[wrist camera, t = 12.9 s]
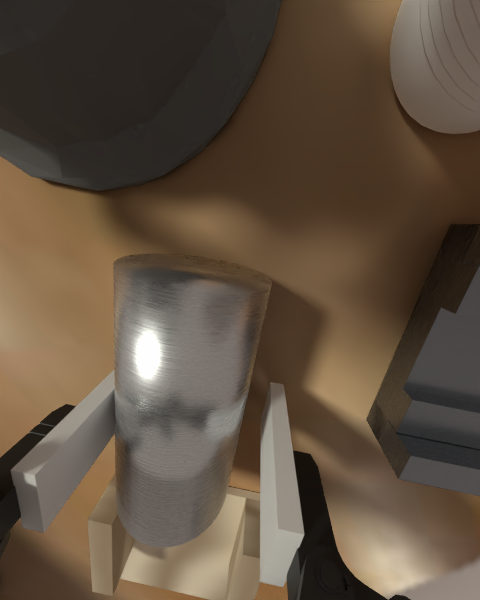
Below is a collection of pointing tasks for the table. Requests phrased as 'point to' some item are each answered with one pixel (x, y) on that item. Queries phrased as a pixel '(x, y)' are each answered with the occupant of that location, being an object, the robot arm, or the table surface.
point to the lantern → (123, 83)
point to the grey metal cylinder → (180, 387)
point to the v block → (437, 376)
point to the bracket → (181, 552)
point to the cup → (438, 63)
